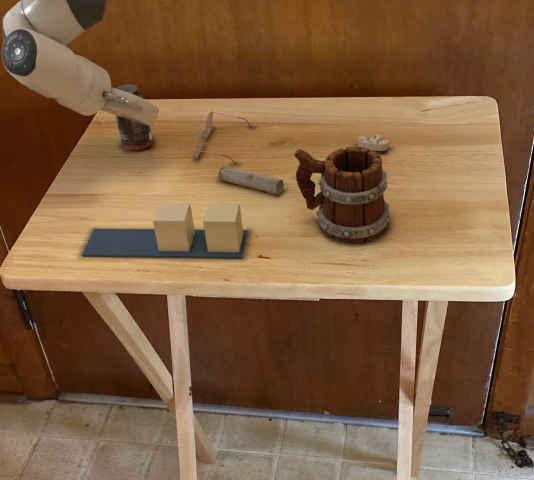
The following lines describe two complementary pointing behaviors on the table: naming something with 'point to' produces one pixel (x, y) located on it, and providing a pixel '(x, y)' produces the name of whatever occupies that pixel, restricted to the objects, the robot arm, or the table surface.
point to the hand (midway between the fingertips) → (134, 114)
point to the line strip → (148, 245)
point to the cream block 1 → (174, 226)
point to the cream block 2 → (223, 227)
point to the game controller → (373, 143)
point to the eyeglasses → (207, 131)
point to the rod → (251, 180)
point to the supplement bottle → (133, 127)
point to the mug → (346, 192)
